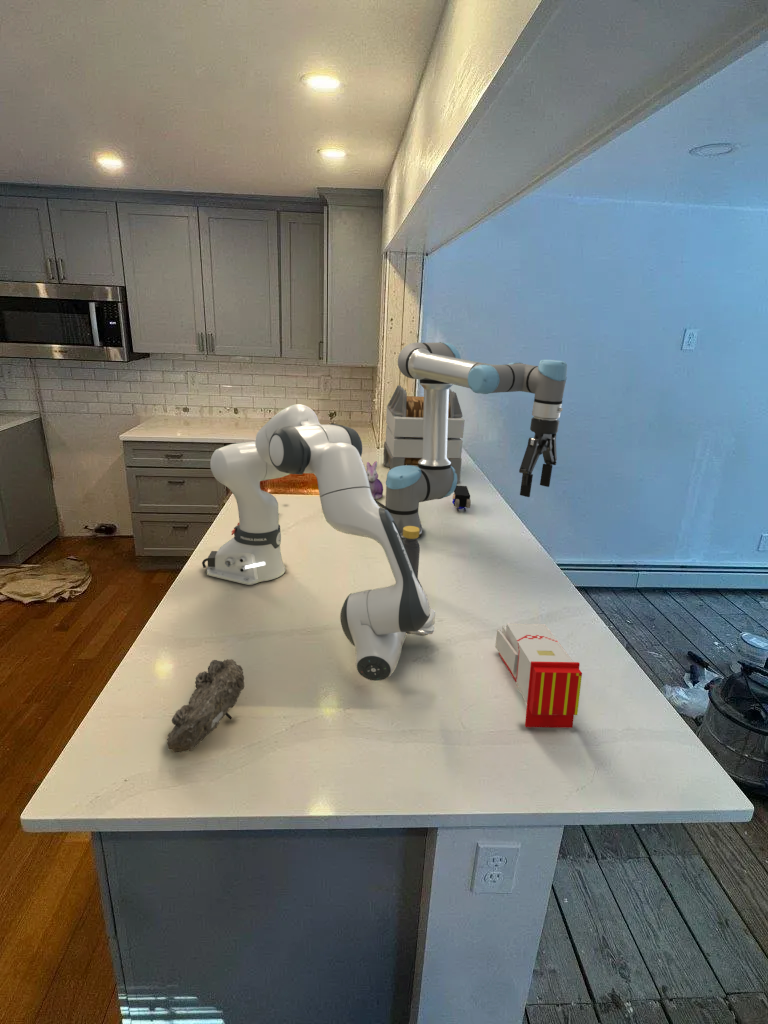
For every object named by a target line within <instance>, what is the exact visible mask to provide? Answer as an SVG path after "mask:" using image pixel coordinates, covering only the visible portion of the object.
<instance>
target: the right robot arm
mask: <svg viewBox="0 0 768 1024" xmlns="http://www.w3.org/2000/svg"><path fill="white" fill-rule="evenodd" d="M397 367H398V369H399V371H400V373H401V374H402V375H403V376H404V377H406V378H409V379H411V380H412V379H413V380H417V381H419V385H420V386H421V387H422V389H423V397H424V412H423V457H422V459H421V460H419V461H418V466H413V465H402V466H397V467H394V468H392V469H391V470H390V469H389V470H388V472H387V475H386V479H385V504H383V503H381V502H380V501H378V499H374V500H375V502H376V503H377V504H378V506H379V507H381V508H383V509H386V510H388V512H389V513H390V514H391V516H392V517H393V519H394V521H395V523H396V525H397V528H398V530H399V532H400V535H401V537H402V540H404V538H405V537H404V536H403V528H404V527H406V526H415V527H418V528H419V530H420V532H419V537H418V538H420V537H421V536H422V535H423V525H422V524H421V518H420V515H419V507H420V506H419V505H420V503H423V502H429V501H435V500H442V499H444V498H448V497H450V496H451V495H453V494H454V490H455V488H456V485H457V486H458V483H457V474H456V473H455V469H454V468H453V467H452V466H451V462H450V461H449V460H448V459H447V436H448V405H449V389H450V390H451V388H452V386H454V385H455V386H459V387H463V388H467V389H470V390H471V391H472V392H473V393H475V394H482V395H489V394H497V393H498V394H499V393H514V392H524V393H529V394H534V397H533V398H534V399H533V404H532V411H531V412H532V413H531V415H532V416H533V417H531V419H530V420H531V421H530V425H529V426H530V427H529V430H530V432H532V433H534V436H533V437H529V438H528V440H527V446H526V449H525V451H524V454H523V458H522V460H521V464H520V466H519V470H518V473H520V474H522V476H521V481H520V483H521V484H520V491H519V496H522V497H524V498H525V497H526V498H530V497H531V491H532V484H533V477H534V474H533V471H534V469H535V467H536V464H537V462H538V460H539V458H540V456H541V455H542V457H543V462H544V463H542V466H541V467H542V469H541V476H540V481H539V486H542V487H547V488H549V487H550V485H551V480H552V479H551V478H552V473H553V472H552V471H553V466H556V465H557V460H558V457H557V456H558V455H557V454H558V453H557V434H558V432H559V427H560V420H559V419H560V417H561V413H562V412H563V407H562V406H563V397H564V393H565V387H566V383H567V379H568V377H567V375H568V373H567V372H568V363H567V362H566V361H563V360H557V359H556V360H555V359H541V360H540V361H539V363H538V365H534V364H533V365H532V364H526V363H523V362H509V363H508V364H491V363H485V362H479V361H475V360H469V359H463V358H462V356H461V353H460V350H459V349H457V347H456V346H455V345H454V344H452V343H450V342H449V343H448V342H441V341H439V342H420V341H419V342H418V341H417V342H412V343H409V344H407V345H405V346H404V347H403V348H402V349H401V350H400V352H399V353H398V356H397Z"/></svg>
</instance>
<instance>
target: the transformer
mask: <svg viewBox="0 0 768 1024" xmlns="http://www.w3.org/2000/svg"><path fill="white" fill-rule="evenodd" d="M407 394H408V393H407V390H406V389H404V388H403V387H402V385H399V384H398V385H397V386H396V388H395V390H394V392H393V394H392V395H391V398H390V400H389V402H388V404H387V405H386V413H385V414H386V415H385V423H386V428H385V438H384V442H383V466H384V467H388V468H389V471H390V470H391V469H392V468H394V467H397V466H402V465H405V466H407V465H413V466H417V467H418V461H419V460H421V459H422V457H423V412H424V396H415V395H414V396H413V395H412V396H411V395H407ZM464 429H465V419H464V418H463V411H462V408H461V405H460V402H459V398H458V395H457V392H455V391H453V390H452V389H451V388H450V389H449V405H448V436H447V459H448V460H449V461H450V462H451V466H452V467H453V468H454V469H455V473H456V474H457V484H459V483H461V472H462V461H463V460H462V453H463V442H464V441H463V440H462V439H463V438H464V431H465V430H464Z"/></svg>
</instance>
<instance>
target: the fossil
mask: <svg viewBox="0 0 768 1024" xmlns="http://www.w3.org/2000/svg"><path fill="white" fill-rule="evenodd" d="M243 670H244V669H243V667H242V665H240V664H237V662H236V661H235V660H234V659H232V658H231V659H227V658H226V659H224V660H223V661H222V660H217V659H212V660H211V661H210V663H209V665H208V666H207V671H201V672H199V673H198V674H197V675H196V676H195V680H194V684H195V685H194V687H195V689H194V690H193V693H192V694H191V697H190V698H189V700H188V704H184V705H182V706H181V707H180V709H177V710H176V711H175V713H174V715H173V716H172V718H171V723H172V724H173V727H172V730H171V731H170V732H168V734H167V738H166V741H167V742H166V745H167V749H168V750H169V751H173V752H174V753H176V754H178V753H182V752H188V751H189V752H192V751H193V750H195V748H196V747H197V746H199V744H200V743H201V742H203V741H204V740H205V739H206V738H207V737H208V736H209V735H210V734H211V733H212V732H214V730H215V729H217V727H218V726H219V724H220V722H221V721H222V720H223V719H224V718H225V716H226V717H227V719H229V720H233V717H232V715H230V714H229V710H230V709H231V708H234V706H235V704H236V703H237V702H238V699H239V697H240V695H241V693H242V691H243V690H245V689H244V688H245V675H244V671H243Z"/></svg>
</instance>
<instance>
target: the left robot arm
mask: <svg viewBox="0 0 768 1024" xmlns="http://www.w3.org/2000/svg"><path fill="white" fill-rule="evenodd" d="M362 454H363V442H362V439H361V437H360V435H359V433H358V432H357V431H356V429H354V428H352V427H349V426H346V425H343V424H338V423H332V422H331V423H330V424H322V423H320V420H319V417H318V416H317V413H316V412H315V410H313V409H312V408H311V407H310V406H307V405H306V404H301V403H296V404H291V405H289V406H287V407H285V408H283V409H281V410H280V411H279V412H277V413H276V414H274V415H273V416H272V417H271V418H270V419H269V420H268V421H267V422H266V423H265V424H264V425H263V426H262V427H261V428H260V429H259V430H258V432H257V433H256V435H255V439H254V441H246V442H238V443H236V442H235V443H230V444H228V445H224V446H222V447H219V448H217V449H215V450H214V451H213V452H212V455H211V457H210V462H209V464H210V465H209V466H210V467H209V468H210V471H211V474H212V476H213V477H214V479H215V480H216V481H217V482H218V483H219V484H221V485H223V486H225V487H226V488H227V489H228V490H229V491H231V493H232V495H233V496H234V498H235V502H236V504H237V512H238V519H239V520H238V522H237V523H236V524H237V525H236V526H235V527H233V529H232V530H231V536H233V537H232V538H231V539H229V540H228V541H226V542H224V543H223V544H222V545H221V546H220V547H219V548H218V549H217V550H211V551H210V553H209V555H208V556H207V557H206V558H204V559H203V560H202V561H201V565H202V568H203V569H206V575H207V576H210V577H212V578H218V579H221V580H225V581H229V582H234V583H239V584H243V585H247V586H252V585H255V584H258V583H260V582H261V583H262V582H268V581H271V580H275V579H277V578H280V577H281V576H283V575H284V573H286V566H285V564H284V560H283V555H282V550H281V543H282V532H281V525H280V523H279V522H280V521H279V520H280V519H279V515H280V512H279V502H278V500H277V498H276V497H275V496H274V495H273V494H272V493H270V492H268V491H265V490H262V489H261V482H263V481H270V480H274V479H280V478H283V477H287V476H289V475H301V476H302V475H304V474H313V475H314V476H315V477H316V478H315V479H316V481H317V487H318V494H319V495H318V496H319V501H320V506H321V510H322V513H323V516H324V519H325V521H326V522H327V524H329V526H330V527H332V528H333V529H334V530H336V531H337V532H340V533H342V534H346V535H351V536H358V537H364V538H367V539H371V540H373V541H375V542H376V543H378V544H379V545H380V546H381V548H382V549H383V553H385V557H386V559H387V562H388V565H389V567H390V570H391V572H392V575H393V578H394V580H395V584H392V585H388V586H384V587H378V588H374V589H373V588H372V589H365V590H360V591H356V592H352V593H350V594H348V596H347V597H346V598H345V600H344V602H343V603H342V607H341V610H340V616H339V617H340V618H339V619H340V625H341V628H342V631H343V633H344V636H345V638H346V639H347V640H348V641H349V642H350V643H351V645H352V646H353V647H354V649H355V668H356V670H357V671H356V672H357V673H358V674H359V675H360V677H362V678H364V679H366V680H369V681H373V682H375V681H377V682H378V681H383V680H386V679H388V678H389V677H390V676H391V675H393V673H394V671H395V670H396V669H397V666H398V663H399V660H400V658H401V655H402V647H403V645H404V643H405V640H406V636H407V635H414V636H420V637H421V636H428V635H432V634H433V633H434V632H435V626H434V625H435V620H436V611H435V610H434V609H433V608H431V607H430V602H429V599H428V596H427V594H426V593H425V590H424V588H423V586H422V583H421V582H420V580H419V577H418V578H417V575H416V573H415V570H414V568H413V565H412V563H411V560H410V557H409V555H408V552H407V550H406V547H405V545H404V542H403V540H402V537H401V535H400V532H399V530H398V528H397V525H396V523H395V521H394V519H393V517H392V516H391V514H390V513H389V512H388V510H386V509H385V508H383V507H381V506H380V505H379V504H377V503H376V502H375V500H376V499H375V500H374V498H373V496H372V493H371V490H370V485H369V481H368V477H367V473H366V471H367V469H366V467H365V464H364V462H363V459H362ZM206 562H207V566H206ZM206 567H207V568H206Z"/></svg>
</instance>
